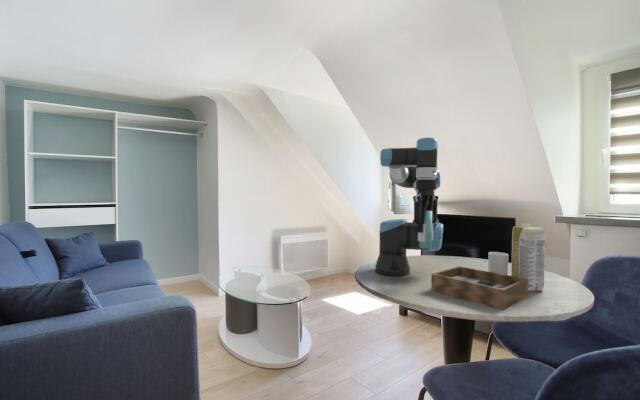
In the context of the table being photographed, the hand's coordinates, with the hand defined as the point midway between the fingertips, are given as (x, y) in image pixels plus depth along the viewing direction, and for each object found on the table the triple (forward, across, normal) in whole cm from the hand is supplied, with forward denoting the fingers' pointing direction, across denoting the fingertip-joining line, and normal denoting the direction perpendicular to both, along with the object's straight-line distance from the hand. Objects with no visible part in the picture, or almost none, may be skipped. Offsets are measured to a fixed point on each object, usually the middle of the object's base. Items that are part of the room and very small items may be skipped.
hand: (425, 240), depth 121 cm
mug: (+17, +24, -16) cm, 33 cm away
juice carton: (+17, +26, -26) cm, 41 cm away
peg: (+3, 0, 0) cm, 3 cm away
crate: (+17, +5, -18) cm, 25 cm away
